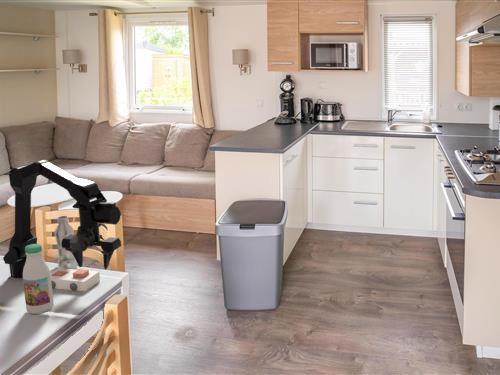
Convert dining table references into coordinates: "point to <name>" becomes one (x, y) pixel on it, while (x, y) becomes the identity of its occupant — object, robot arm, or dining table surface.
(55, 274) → the inner button
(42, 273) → the milk bottle
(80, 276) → the outer button
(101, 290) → the dining table surface
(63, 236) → the plastic bottle
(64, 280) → the switch panel
